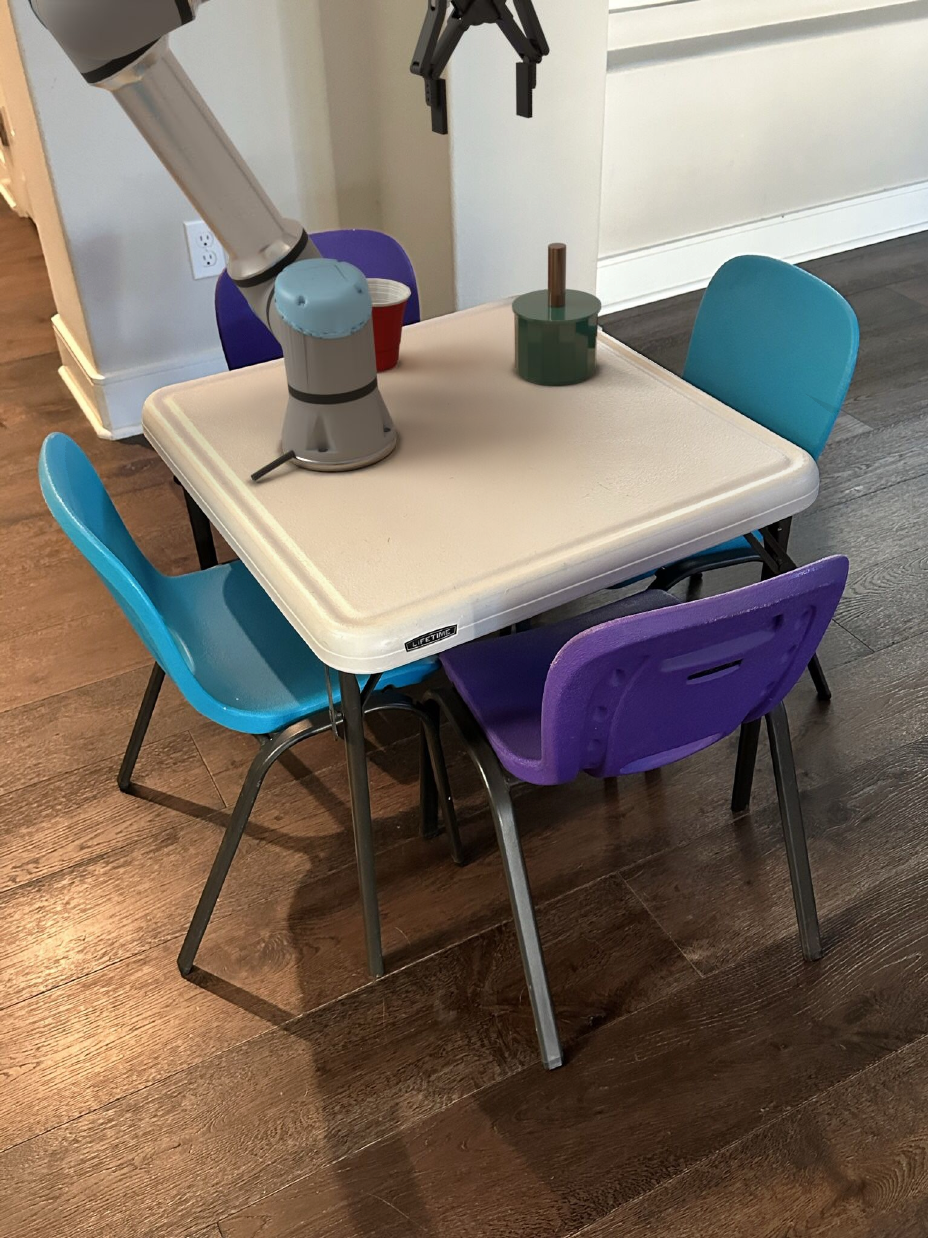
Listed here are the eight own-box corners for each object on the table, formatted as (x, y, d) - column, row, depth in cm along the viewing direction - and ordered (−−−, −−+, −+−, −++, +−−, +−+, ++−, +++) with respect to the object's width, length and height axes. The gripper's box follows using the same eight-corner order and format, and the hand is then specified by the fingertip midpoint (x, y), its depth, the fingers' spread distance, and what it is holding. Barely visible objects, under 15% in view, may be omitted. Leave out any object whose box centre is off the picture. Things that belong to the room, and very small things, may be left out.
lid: (547, 335, 157) (548, 267, 151) (494, 309, 166) (492, 243, 160) (619, 313, 163) (622, 246, 157) (564, 289, 171) (565, 225, 166)
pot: (547, 392, 163) (548, 329, 157) (499, 366, 171) (498, 305, 165) (612, 371, 168) (614, 309, 162) (562, 346, 176) (563, 287, 170)
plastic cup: (413, 378, 168) (408, 300, 161) (341, 380, 169) (333, 302, 162) (417, 349, 177) (412, 274, 170) (349, 351, 178) (341, 276, 171)
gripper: (541, -73, 145) (541, 105, 158) (374, -55, 134) (387, 134, 147) (578, -70, 140) (574, 113, 152) (406, -51, 129) (418, 144, 142)
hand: (482, 124), depth 150 cm, fingers open, 13 cm apart
